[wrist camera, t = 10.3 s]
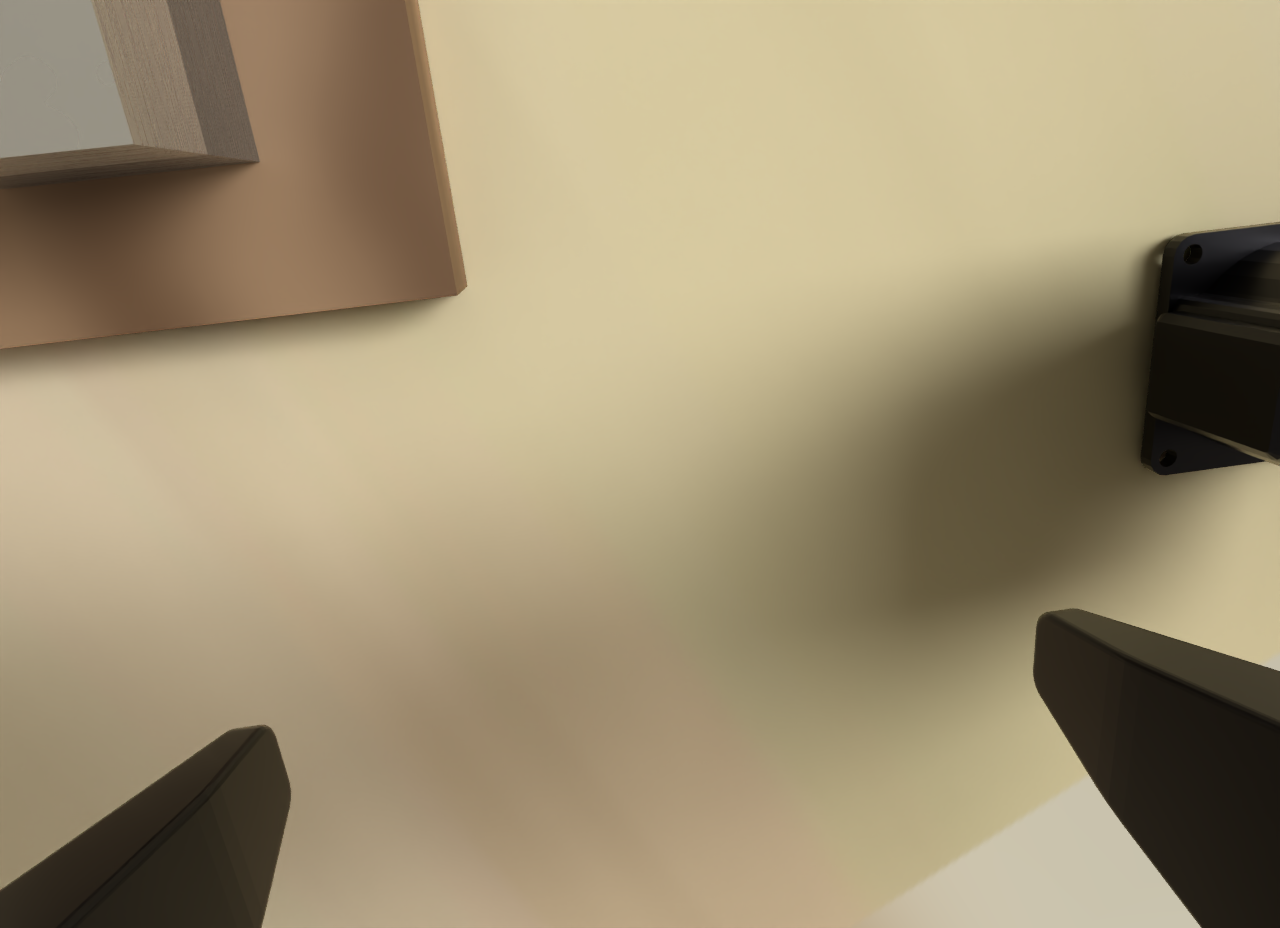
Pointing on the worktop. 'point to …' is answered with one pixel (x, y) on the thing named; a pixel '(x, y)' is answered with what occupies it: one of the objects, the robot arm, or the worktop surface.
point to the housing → (117, 90)
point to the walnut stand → (257, 195)
